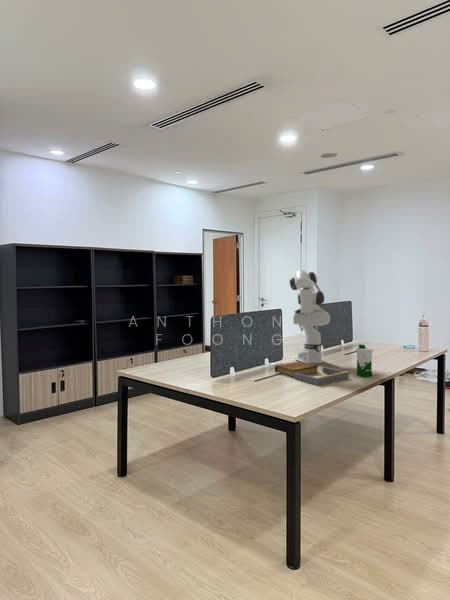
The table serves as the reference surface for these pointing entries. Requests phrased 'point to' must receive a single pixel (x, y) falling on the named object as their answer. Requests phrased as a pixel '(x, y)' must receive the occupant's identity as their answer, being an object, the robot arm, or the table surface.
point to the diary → (296, 368)
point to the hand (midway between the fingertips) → (308, 330)
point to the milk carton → (364, 361)
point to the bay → (332, 377)
